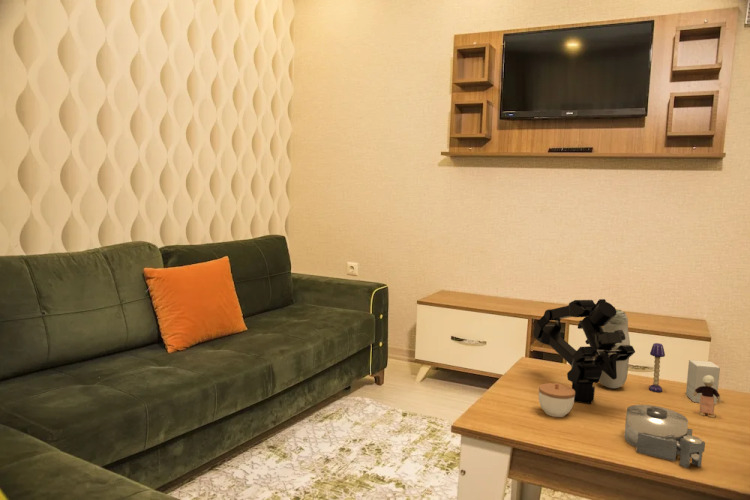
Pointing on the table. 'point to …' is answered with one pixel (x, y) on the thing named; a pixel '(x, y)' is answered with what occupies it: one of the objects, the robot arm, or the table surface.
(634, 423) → the cover
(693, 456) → the dial plunger
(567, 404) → the lidded jar
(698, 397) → the supplement box
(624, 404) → the table surface
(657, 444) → the centering jig
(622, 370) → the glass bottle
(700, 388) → the grandmother figurine
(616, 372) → the robot arm
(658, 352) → the toy lamp
